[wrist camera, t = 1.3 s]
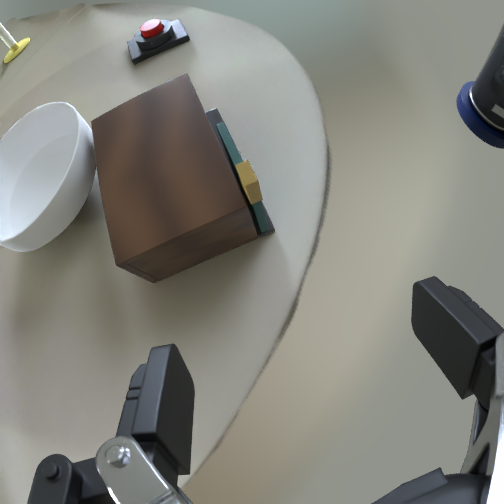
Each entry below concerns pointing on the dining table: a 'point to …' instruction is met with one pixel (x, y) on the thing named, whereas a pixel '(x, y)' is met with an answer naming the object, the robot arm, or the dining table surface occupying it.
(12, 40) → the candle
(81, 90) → the dining table surface
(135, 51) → the switch box
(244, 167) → the door
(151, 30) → the button
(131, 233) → the cabinet
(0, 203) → the bowl
